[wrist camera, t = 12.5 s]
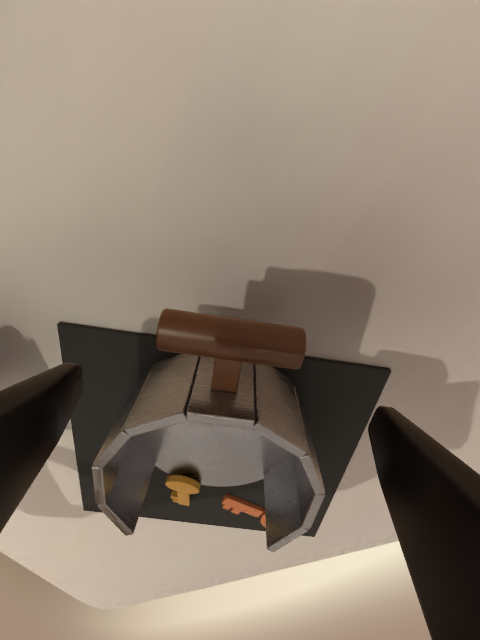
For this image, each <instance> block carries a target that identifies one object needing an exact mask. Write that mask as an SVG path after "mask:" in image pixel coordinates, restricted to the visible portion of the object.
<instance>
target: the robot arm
mask: <svg viewBox="0 0 480 640" xmlns="http://www.w3.org/2000/svg"><path fill="white" fill-rule="evenodd" d="M83 389H84V384H83V375H82V368H81V366H80V365H79V364H74V363H63V364H61V365H59V366H56V367H54V368H52V369H49V370H47V371H45V372H43V373H40V374H38V375H36V376H33V377H31V378H29V379H26V380H24V381H22V382H20V383H17V384H15V385H13V386H10V387H8V388H6V389H4V390H1V391H0V533H1V531H2V530H3V528H4V527H5V525H6V523H7V522H8V520H9V519H10V517H11V516H12V514H13V512H14V511H15V509H16V508H17V506H18V505H19V503H20V501H21V500H22V498H23V497H24V495H25V494H26V492H27V490H28V489H29V487H30V486H31V484H32V483H33V481H34V479H35V478H36V476H37V475H38V473H39V472H40V470H41V468H42V467H43V465H44V464H45V462H46V461H47V459H48V457H49V456H50V454H51V453H52V451H53V450H54V448H55V446H56V445H57V443H58V441H59V439H60V438H61V436H62V434H63V432H64V430H65V428H66V426H67V424H68V422H69V420H70V418H71V416H72V414H73V412H74V410H75V408H76V406H77V404H78V402H79V400H80V397H81V395H82V393H83ZM368 433H369V437H370V442H371V446H372V451H373V455H374V460H375V464H376V469H377V473H378V477H379V481H380V485H381V488H382V491H383V494H384V497H385V500H386V503H387V506H388V509H389V512H390V515H391V518H392V521H393V524H394V527H395V530H396V533H397V536H398V539H399V542H400V545H401V548H402V551H403V554H404V557H405V560H406V563H407V566H408V569H409V572H410V575H411V578H412V581H413V584H414V587H415V590H416V593H417V596H418V599H419V602H420V605H421V608H422V611H423V614H424V617H425V620H426V623H427V626H428V629H429V632H430V635H431V638H432V640H480V475H479V474H478V473H477V472H476V471H474V470H473V469H472V468H470V467H469V466H468V465H467V464H465V463H464V462H463V461H461V460H460V459H459V458H457V457H456V456H455V455H454V454H452V453H451V452H450V451H448V450H447V449H446V448H445V447H443V446H442V445H441V444H439V443H438V442H437V441H435V440H434V439H433V438H432V437H430V436H429V435H428V434H426V433H425V432H424V431H423V430H421V429H420V428H419V427H417V426H416V425H415V424H414V423H412V422H411V421H410V420H408V419H407V418H406V417H405V416H403V415H402V414H401V413H399V412H398V411H397V410H395V409H394V408H392V407H385V406H379V407H378V408H377V409H376V411H375V413H374V415H373V417H372V420H371V422H370V424H369V427H368Z"/></svg>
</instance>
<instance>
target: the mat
mask: <svg viewBox="0 0 480 640" xmlns="http://www.w3.org/2000/svg"><path fill="white" fill-rule="evenodd" d="M57 326H58V333H59V340H60V347H61V354H62V361H63V363H74V364H79V365H80V366H81V368H82V375H83V384H84V389H83V393H82V395H81V397H80V400H79V402H78V404H77V406H76V408H75V410H74V412H73V414H72V416H71V424H72V431H73V438H74V445H75V452H76V459H77V466H78V473H79V480H80V487H81V494H82V501H83V508H84V510H85V511H94V512H102V511H101V510H100V509H99V508H98V506H97V505H98V504H96V501H95V492H94V483H93V474H92V466H93V463H94V461H95V459H96V457H97V455H98V453H99V451H100V449H101V448H102V446H103V444H104V442H105V440H106V438H107V436H108V434H109V432H110V431H111V429H112V427H113V425H114V423H115V421H116V419H117V417H118V416H119V414H120V412H121V410H122V408H123V406H124V404H125V402H126V400H127V399H128V397H129V395H130V393H131V392H132V390H133V389H134V388H135V387H136V385H137V384H138V383H139V382H140V380H141V379H142V378H143V377H144V376H145V374H146V373H147V372H148V371H149V369H150V368H151V367H152V366H153V364H156V362H158V361H161V360H164V359H167V358H170V357H174V356H177V355H180V354H181V353H173V352H166V351H160V350H158V349H157V344H156V335H149V334H141V333H134V332H127V331H120V330H113V329H106V328H99V327H92V326H85V325H78V324H71V323H64V322H59V323H58V324H57ZM272 367H273V368H275V369H276V370H278V371H279V372H280V373H282V374H283V375H285V376H286V377H288V378H289V379H290V380H292V382H293V383H294V384H295V386H296V389H297V391H298V394H299V397H300V399H301V402H302V404H303V407H304V409H305V412H306V415H307V418H308V422H309V426H310V430H311V435H312V439H313V443H314V447H315V452H316V456H317V460H318V464H319V468H320V473H321V477H322V481H323V485H324V489H325V497H324V499H323V501H322V504H321V506H320V508H319V510H318V513H317V515H316V517H315V519H314V522H313V524H312V526H311V528H310V529H309V530H308V531H307V532H305V533H304V534H302V535H303V536H312V537H315V535H316V533H317V530H318V528H319V526H320V524H321V522H322V520H323V518H324V515H325V513H326V511H327V509H328V507H329V505H330V502H331V500H332V498H333V496H334V494H335V492H336V489H337V487H338V485H339V483H340V481H341V479H342V477H343V474H344V472H345V470H346V468H347V466H348V464H349V461H350V459H351V457H352V455H353V453H354V451H355V449H356V446H357V444H358V442H359V440H360V438H361V436H362V433H363V431H364V429H365V427H366V425H367V423H368V420H369V418H370V416H371V414H372V412H373V410H374V408H375V405H376V403H377V401H378V399H379V397H380V395H381V392H382V390H383V388H384V386H385V384H386V382H387V379H388V377H389V375H390V373H391V370H390V369H389V368H382V367H375V366H368V365H361V364H354V363H347V362H339V361H332V360H325V359H318V358H311V357H304V360H303V363H302V365H301V367H300V368H299V369H297V370H296V369H288V368H281V367H274V366H272ZM168 476H170V475H169V474H168V473H166V472H164V471H162V470H161V469H159V468H158V467H156V466H155V467H154V470H153V473H152V476H151V479H150V483H149V486H148V489H147V492H146V495H145V498H144V501H143V505H142V508H141V511H140V514H139V517H146V518H155V519H164V520H173V521H181V522H190V523H199V524H207V525H216V526H225V527H233V528H242V529H251V530H260V531H266V527H264V526H263V525H262V524H261V522H260V516H259V517H255V516H252V515H249V514H247V513H244V512H242V511H241V512H240V513H239V514H238V515H237V514H234V513H232V512H231V508H230V509H229V510H226V509H224V508H222V499H223V497H224V496H225V495H226V494H230V495H233V496H235V497H238V498H240V499H243V500H245V501H248V502H250V503H253V504H255V505H258V506H260V507H263V510H265V497H264V479H262V480H259V481H256V482H252V483H249V484H244V485H239V486H228V487H216V486H206V485H200V490H199V492H198V493H197V494H190V501H191V502H190V506H185V505H181V504H179V503H176V502H173V499H171V493H172V491H174V490H172V489H170V488H168V487H167V486H166V485H165V482H166V479H167V477H168ZM176 492H177V491H176Z"/></svg>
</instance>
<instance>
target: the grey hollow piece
mask: <svg viewBox="0 0 480 640" xmlns="http://www.w3.org/2000/svg"><path fill="white" fill-rule="evenodd" d="M156 344H157V349H158V350H160V351H166V352H173V353H181V354H180V355H177V356H174V357H170V358H167V359H164V360H161V361H158V362H156V364H153V366H152V367H151V368H150V369H149V371H148V372H147V373H146V374H145V376H144V377H143V378H142V379H141V380H140V382H139V383H138V384H137V385H136V387H135V388H134V389H133V390H132V392H131V393H130V395H129V397H128V399H127V400H126V402H125V404H124V406H123V408H122V410H121V412H120V414H119V416H118V417H117V419H116V421H115V423H114V425H113V427H112V429H111V431H110V432H109V434H108V436H107V438H106V440H105V442H104V444H103V446H102V448H101V449H100V451H99V453H98V455H97V457H96V459H95V461H94V463H93V466H92V474H93V483H94V492H95V501H96V504H98V505H97V506H98V508H99V509H100V510H101V511H102V512H103V513H104V514H105V515H106V516H107V517H108V518H109V519H110V520H111V521H112V522H113V523H114V524H115V525H116V526H117V527H118V528H119V529H120V530H121V531H122V532H123V533H124V534H125V535H126V536H127V535H131V534H133V533H134V530H135V527H136V523H137V520H138V517H139V514H140V511H141V508H142V505H143V501H144V498H145V495H146V492H147V489H148V486H149V483H150V479H151V476H152V473H153V470H154V467H155V466H156V467H158V468H159V469H161V470H162V471H164V472H166V473H168V474H169V475H181V476H186V477H189V478H192V479H194V480H196V481H198V482H199V483H200V485H206V486H216V487H228V486H239V485H244V484H249V483H252V482H256V481H259V480H262V479H264V497H265V518H266V538H267V549H268V550H270V551H272V552H275V551H276V550H278V549H279V548H281V547H283V546H284V545H286V544H288V543H289V542H291V541H292V540H294V539H296V538H297V537H299V536H301V535H302V534H304V533H305V532H307V531H308V530H309V529H310V528H311V526H312V524H313V522H314V519H315V517H316V515H317V513H318V510H319V508H320V506H321V504H322V501H323V499H324V497H325V489H324V485H323V481H322V477H321V473H320V468H319V464H318V460H317V456H316V452H315V447H314V443H313V439H312V435H311V430H310V426H309V422H308V418H307V415H306V412H305V409H304V407H303V404H302V402H301V399H300V397H299V394H298V391H297V389H296V386H295V384H294V383H293V382H292V380H290V379H289V378H288V377H286V376H285V375H283V374H282V373H280V372H279V371H278V370H276V369H275V368H273V367H272V366H274V367H281V368H288V369H296V370H297V369H299V368H300V367H301V365H302V363H303V360H304V356H305V351H306V334H305V330H304V329H302V328H298V327H291V326H284V325H277V324H270V323H263V322H256V321H250V320H243V319H236V318H229V317H222V316H215V315H208V314H201V313H195V312H188V311H181V310H174V309H167V308H166V309H164V310H163V312H162V313H161V316H160V319H159V322H158V327H157V335H156Z"/></svg>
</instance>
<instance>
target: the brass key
mask: <svg viewBox="0 0 480 640" xmlns="http://www.w3.org/2000/svg"><path fill="white" fill-rule="evenodd" d="M165 485H166V486H167V487H168V488H170V489H172V490H174V491H172V493H171V499H173V502H176V503H179V504H181V505H185V506H190V502H191V501H190V494H197V493H198V492H199V490H200V483H199V482H198V481H196V480H194V479H192V478H189V477H186V476H181V475H170V476H168V477H167V479H166V482H165ZM176 491H177V492H176Z"/></svg>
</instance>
